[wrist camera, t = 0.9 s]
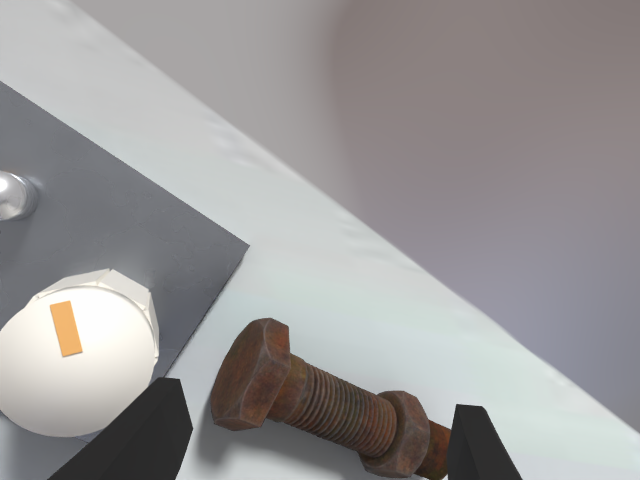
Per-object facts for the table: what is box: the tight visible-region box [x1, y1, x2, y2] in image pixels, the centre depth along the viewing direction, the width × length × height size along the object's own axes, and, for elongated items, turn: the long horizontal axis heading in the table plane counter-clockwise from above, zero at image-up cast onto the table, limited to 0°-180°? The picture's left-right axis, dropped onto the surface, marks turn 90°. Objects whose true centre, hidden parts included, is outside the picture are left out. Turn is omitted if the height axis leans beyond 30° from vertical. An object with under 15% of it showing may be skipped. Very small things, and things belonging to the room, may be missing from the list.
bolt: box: [211, 318, 451, 480], centre depth 24 cm, size 6×5×15 cm
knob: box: [0, 269, 159, 437], centre depth 17 cm, size 5×5×6 cm
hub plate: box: [0, 81, 250, 443], centre depth 18 cm, size 16×12×4 cm
